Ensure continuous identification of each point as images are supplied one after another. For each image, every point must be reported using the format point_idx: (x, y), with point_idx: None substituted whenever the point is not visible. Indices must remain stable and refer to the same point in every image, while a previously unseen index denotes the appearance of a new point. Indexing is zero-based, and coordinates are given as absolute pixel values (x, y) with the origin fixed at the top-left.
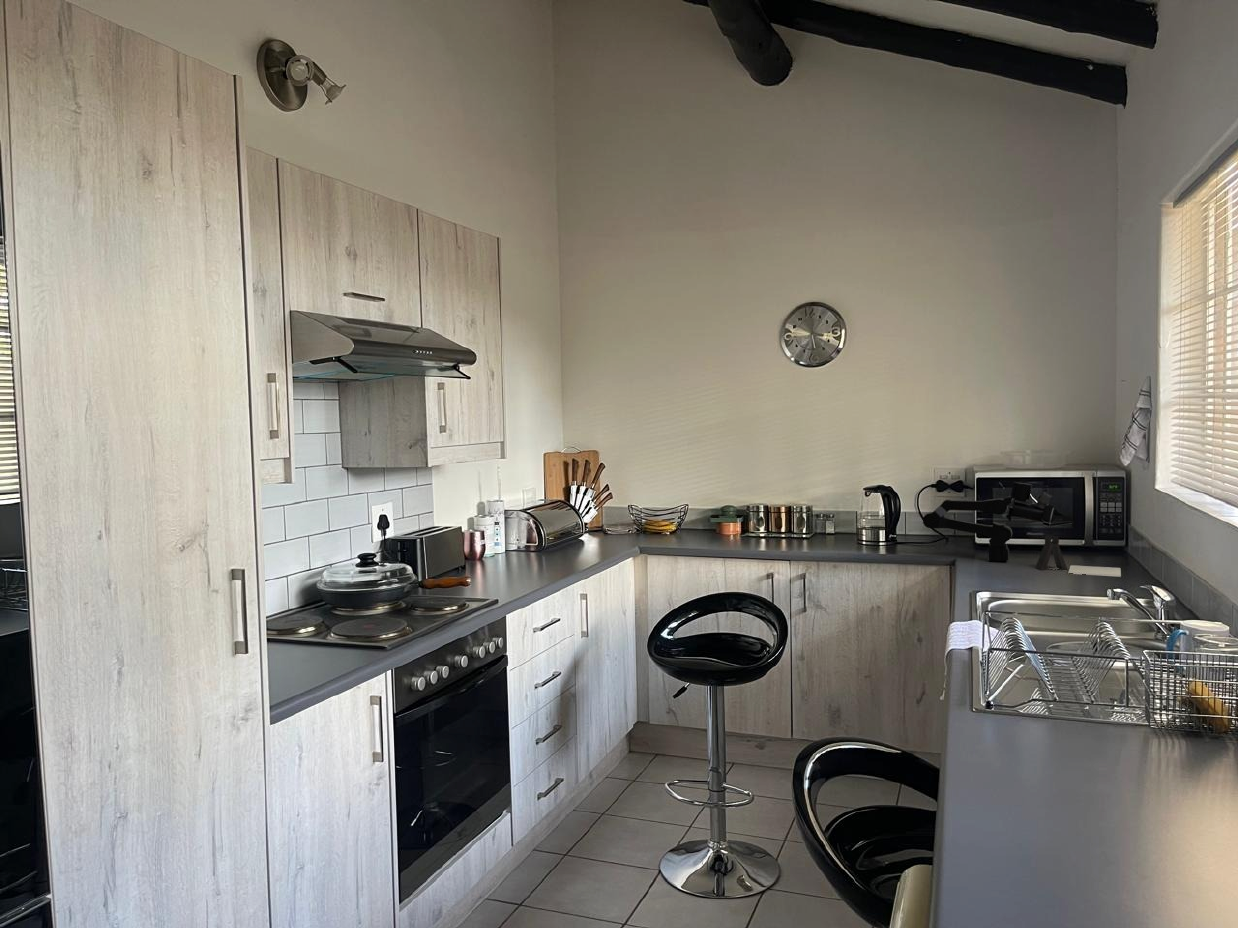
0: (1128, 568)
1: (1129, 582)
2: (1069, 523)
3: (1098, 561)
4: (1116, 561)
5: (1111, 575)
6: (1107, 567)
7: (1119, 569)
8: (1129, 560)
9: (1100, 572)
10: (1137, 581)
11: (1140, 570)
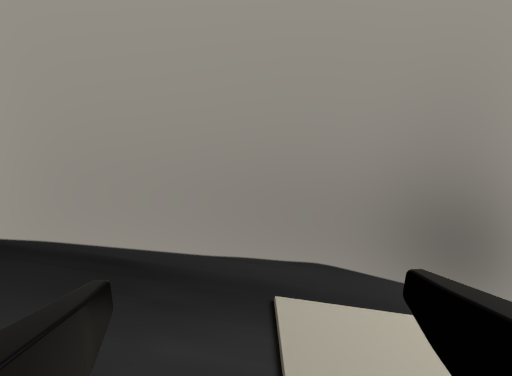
0: (230, 277)
1: None
2: (103, 335)
3: None
4: (29, 276)
5: None
6: (284, 331)
7: (312, 304)
8: (6, 240)
9: (438, 369)
10: None
11: (260, 260)
